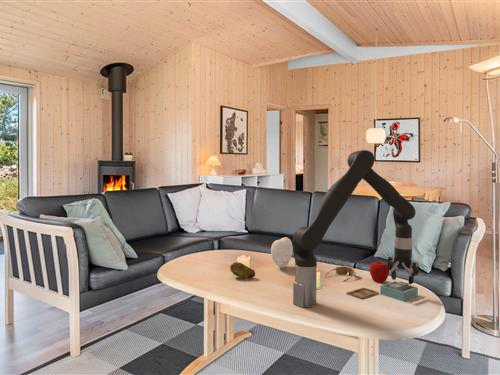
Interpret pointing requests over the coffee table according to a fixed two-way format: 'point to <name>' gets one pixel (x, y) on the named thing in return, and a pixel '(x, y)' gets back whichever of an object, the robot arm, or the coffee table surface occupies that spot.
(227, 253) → the coffee table surface
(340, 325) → the coffee table surface
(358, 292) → the tray
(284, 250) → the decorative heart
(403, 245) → the robot arm
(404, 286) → the block
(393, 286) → the matte taupe cube
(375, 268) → the apple
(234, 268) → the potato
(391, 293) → the teal open box
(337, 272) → the sunglasses
